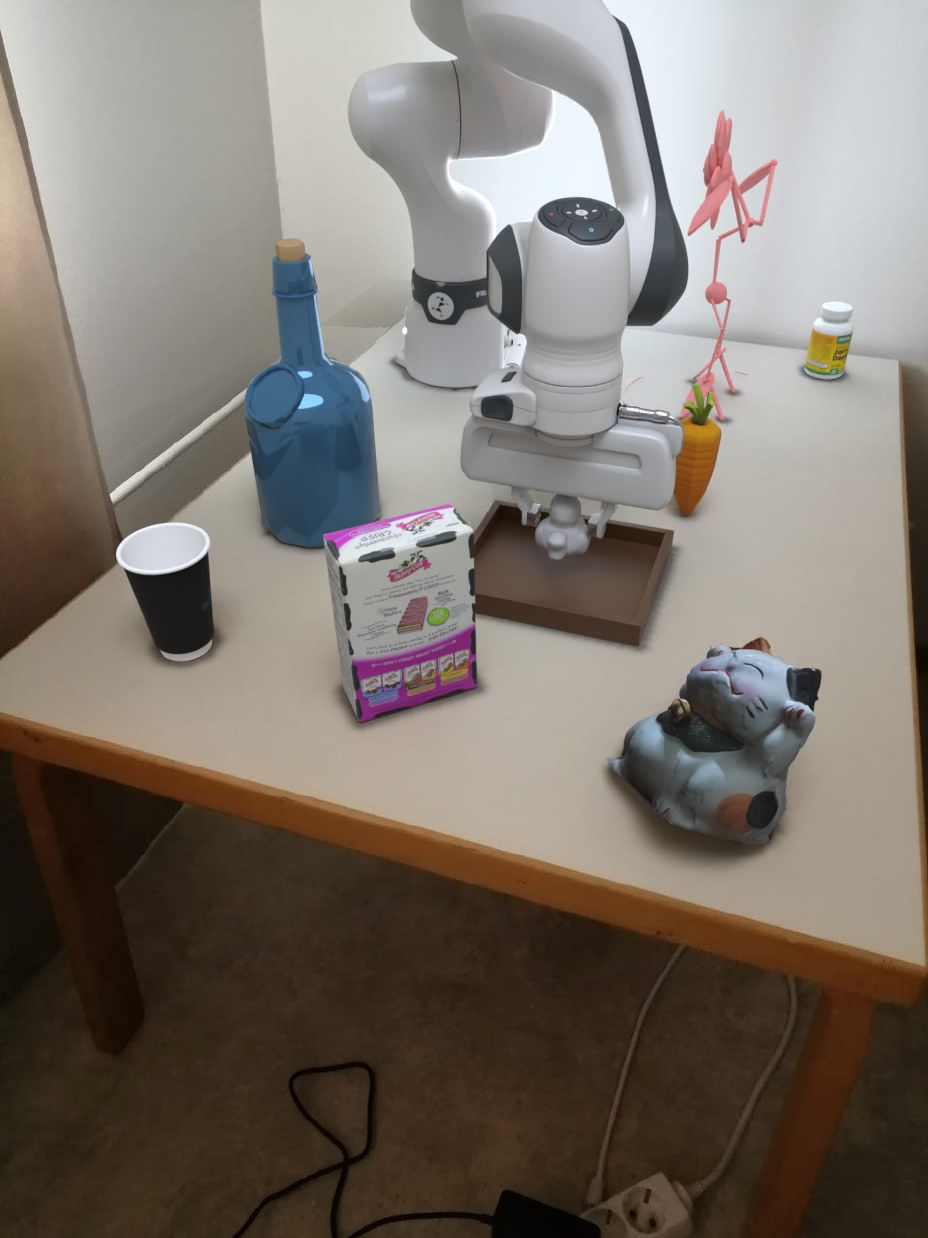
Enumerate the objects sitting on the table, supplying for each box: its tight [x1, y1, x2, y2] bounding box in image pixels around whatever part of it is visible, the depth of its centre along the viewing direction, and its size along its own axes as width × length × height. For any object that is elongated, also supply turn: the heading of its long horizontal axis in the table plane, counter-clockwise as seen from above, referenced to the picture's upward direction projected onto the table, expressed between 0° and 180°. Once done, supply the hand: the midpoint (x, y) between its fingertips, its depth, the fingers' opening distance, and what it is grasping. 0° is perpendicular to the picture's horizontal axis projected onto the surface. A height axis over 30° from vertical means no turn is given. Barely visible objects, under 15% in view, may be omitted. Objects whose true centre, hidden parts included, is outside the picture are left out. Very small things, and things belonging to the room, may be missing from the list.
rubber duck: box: [535, 494, 591, 560], centre depth 95 cm, size 5×7×8 cm
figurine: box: [621, 109, 778, 421], centre depth 121 cm, size 15×26×35 cm, turn 159°
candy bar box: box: [323, 503, 478, 723], centre depth 80 cm, size 11×5×16 cm, turn 114°
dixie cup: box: [115, 522, 215, 662], centre depth 87 cm, size 8×8×11 cm
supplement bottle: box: [804, 300, 854, 380], centre depth 135 cm, size 5×5×10 cm
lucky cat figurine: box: [606, 636, 823, 845], centre depth 72 cm, size 15×12×14 cm
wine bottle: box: [244, 238, 381, 548], centre depth 99 cm, size 14×13×30 cm
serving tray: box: [473, 499, 675, 647], centre depth 98 cm, size 17×20×2 cm
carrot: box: [673, 382, 723, 517], centre depth 103 cm, size 5×5×15 cm
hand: (562, 528), depth 95 cm, fingers closed on rubber duck, 5 cm apart
